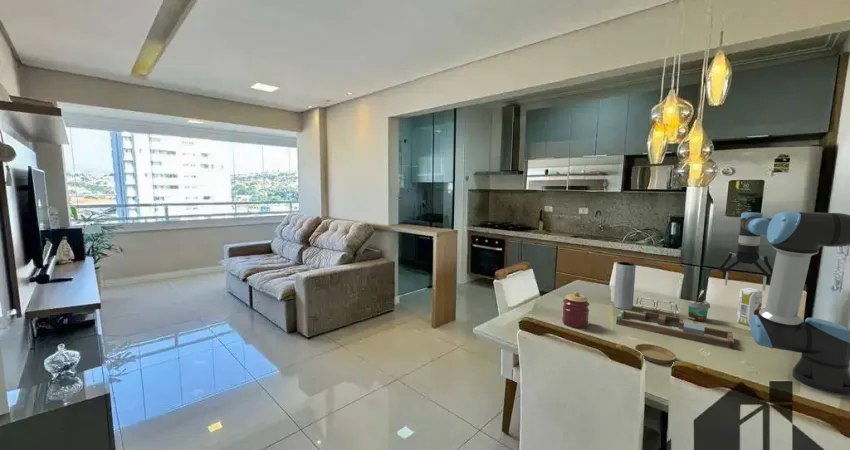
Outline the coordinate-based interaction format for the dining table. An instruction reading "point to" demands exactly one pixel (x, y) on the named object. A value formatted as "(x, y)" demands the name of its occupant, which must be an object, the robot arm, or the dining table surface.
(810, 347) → the robot arm
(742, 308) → the juice carton
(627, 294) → the vase
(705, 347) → the dining table surface
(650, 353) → the plant saucer
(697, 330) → the grey block
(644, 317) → the track
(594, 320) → the dining table surface
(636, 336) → the dining table surface
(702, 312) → the food container
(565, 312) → the canister
